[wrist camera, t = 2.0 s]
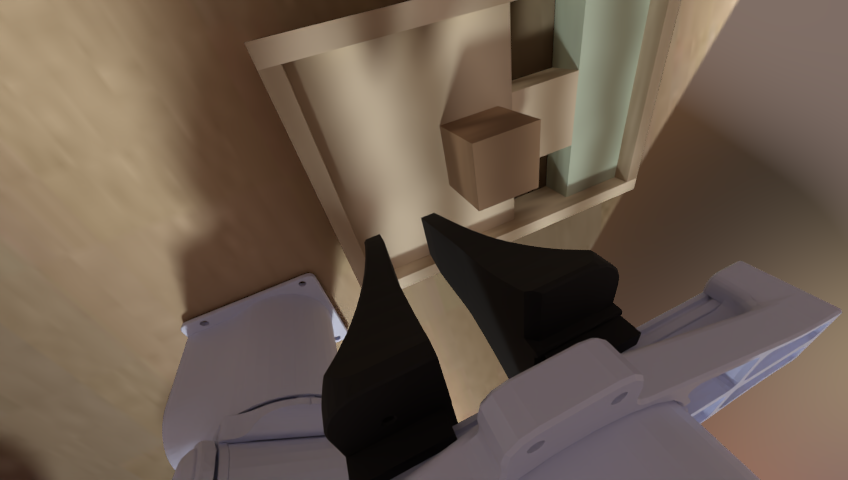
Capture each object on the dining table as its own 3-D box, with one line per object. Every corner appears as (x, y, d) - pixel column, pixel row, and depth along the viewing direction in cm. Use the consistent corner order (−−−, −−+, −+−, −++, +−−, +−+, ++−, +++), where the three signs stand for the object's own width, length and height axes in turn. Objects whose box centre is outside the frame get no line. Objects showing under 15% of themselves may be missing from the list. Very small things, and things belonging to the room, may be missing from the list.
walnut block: (449, 185, 20) (479, 211, 17) (439, 125, 18) (472, 143, 15) (500, 165, 21) (538, 187, 18) (498, 105, 19) (541, 119, 16)
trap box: (358, 272, 25) (368, 303, 22) (251, 41, 15) (243, 42, 12) (598, 173, 29) (633, 188, 26) (636, -56, 19) (699, -73, 16)
